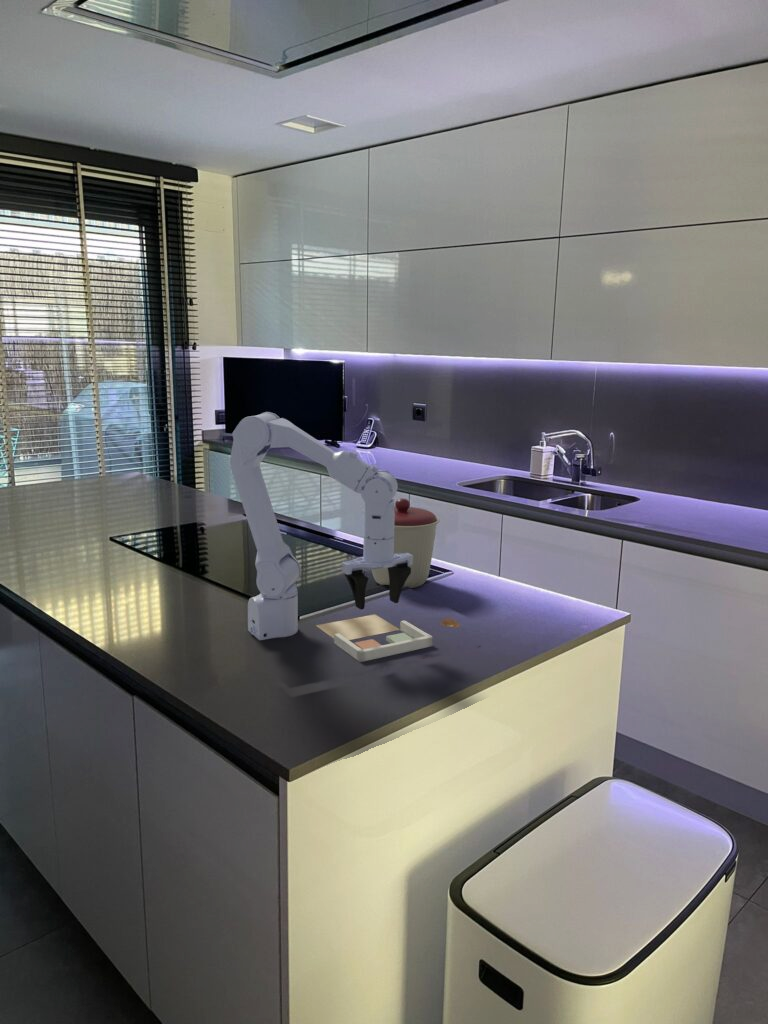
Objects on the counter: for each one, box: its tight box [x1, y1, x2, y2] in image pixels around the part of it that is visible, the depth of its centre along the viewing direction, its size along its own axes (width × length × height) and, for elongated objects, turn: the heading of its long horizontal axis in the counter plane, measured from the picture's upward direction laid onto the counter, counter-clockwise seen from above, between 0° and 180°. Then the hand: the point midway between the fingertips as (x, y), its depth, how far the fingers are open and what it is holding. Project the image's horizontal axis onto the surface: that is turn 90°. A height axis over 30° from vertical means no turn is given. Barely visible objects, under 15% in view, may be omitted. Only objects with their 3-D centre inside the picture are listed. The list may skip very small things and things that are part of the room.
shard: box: [439, 617, 461, 629], centre depth 164 cm, size 11×8×2 cm
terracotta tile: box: [353, 638, 383, 650], centre depth 146 cm, size 4×4×2 cm
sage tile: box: [385, 632, 414, 644], centre depth 150 cm, size 4×4×2 cm
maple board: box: [315, 613, 401, 641], centre depth 157 cm, size 14×10×1 cm
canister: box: [371, 498, 441, 589], centre depth 188 cm, size 18×18×21 cm
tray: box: [333, 619, 434, 663], centre depth 148 cm, size 16×10×3 cm, turn 121°
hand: (377, 604), depth 149 cm, fingers open, 7 cm apart
